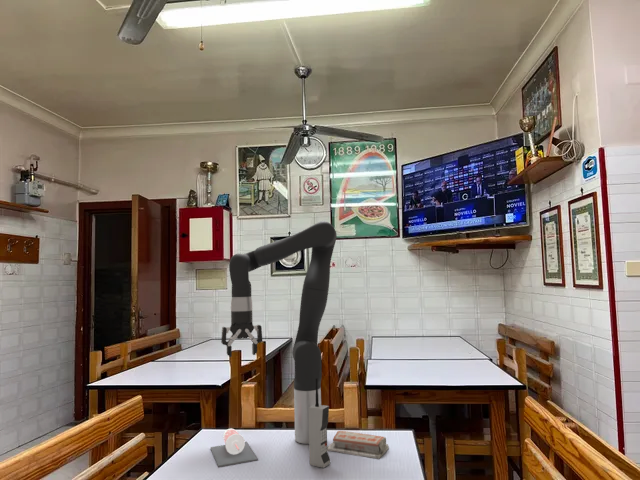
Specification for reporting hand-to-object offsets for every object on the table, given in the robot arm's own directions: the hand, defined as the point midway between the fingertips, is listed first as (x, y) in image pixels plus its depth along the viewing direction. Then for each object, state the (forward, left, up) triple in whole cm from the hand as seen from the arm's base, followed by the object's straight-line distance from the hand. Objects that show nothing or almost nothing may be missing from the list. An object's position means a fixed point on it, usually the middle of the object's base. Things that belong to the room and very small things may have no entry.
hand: (242, 355), depth 160 cm
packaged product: (-31, +27, -29) cm, 50 cm away
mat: (+6, +14, -28) cm, 32 cm away
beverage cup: (+6, +6, -25) cm, 26 cm away
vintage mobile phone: (-16, +33, -28) cm, 46 cm away
